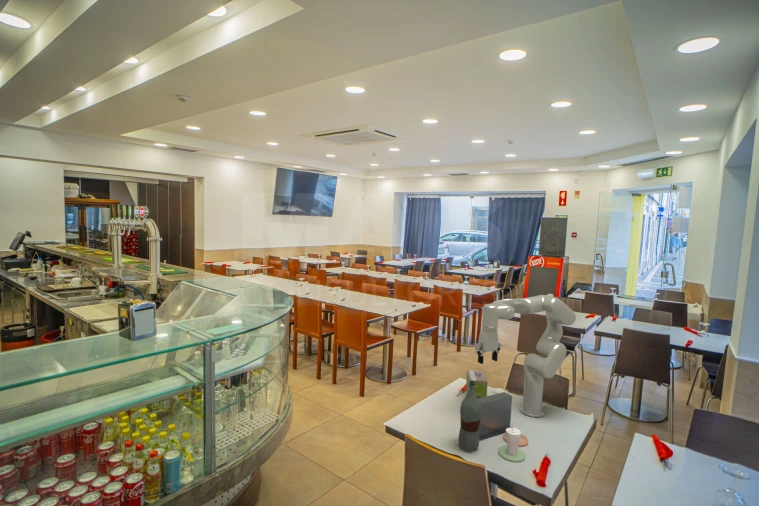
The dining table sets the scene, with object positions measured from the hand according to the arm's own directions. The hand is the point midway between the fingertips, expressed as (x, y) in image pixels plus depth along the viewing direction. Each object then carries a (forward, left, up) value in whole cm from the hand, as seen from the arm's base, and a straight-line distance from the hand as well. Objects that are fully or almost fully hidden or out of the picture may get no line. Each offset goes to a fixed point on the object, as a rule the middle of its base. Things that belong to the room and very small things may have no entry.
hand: (487, 361), depth 203 cm
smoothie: (+12, +29, -30) cm, 43 cm away
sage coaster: (+12, +29, -30) cm, 44 cm away
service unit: (+6, +11, -30) cm, 33 cm away
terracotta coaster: (+1, +21, -30) cm, 37 cm away
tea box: (-12, -19, -31) cm, 38 cm away
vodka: (+25, +16, -31) cm, 43 cm away
